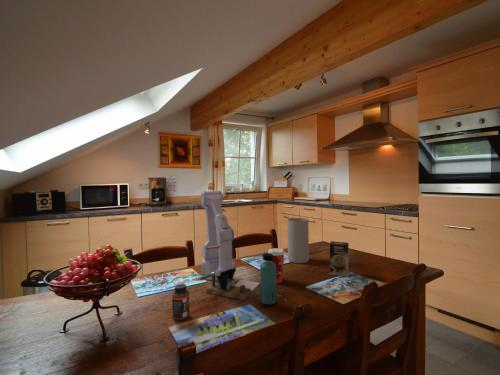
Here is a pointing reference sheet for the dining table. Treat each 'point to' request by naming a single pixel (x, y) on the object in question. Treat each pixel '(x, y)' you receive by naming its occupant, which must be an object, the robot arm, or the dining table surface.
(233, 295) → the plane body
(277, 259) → the coffee cup
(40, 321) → the dining table surface
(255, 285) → the rubber pad
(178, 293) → the supplement bottle
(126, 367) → the dining table surface
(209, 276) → the latch bar
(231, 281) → the lever cap
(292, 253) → the cylinder vase
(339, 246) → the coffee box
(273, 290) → the beverage bottle
